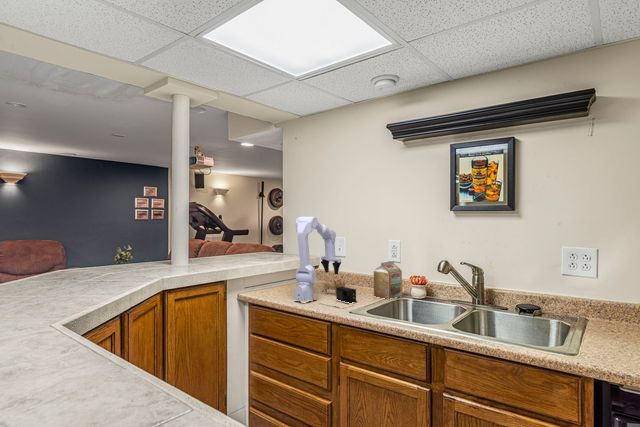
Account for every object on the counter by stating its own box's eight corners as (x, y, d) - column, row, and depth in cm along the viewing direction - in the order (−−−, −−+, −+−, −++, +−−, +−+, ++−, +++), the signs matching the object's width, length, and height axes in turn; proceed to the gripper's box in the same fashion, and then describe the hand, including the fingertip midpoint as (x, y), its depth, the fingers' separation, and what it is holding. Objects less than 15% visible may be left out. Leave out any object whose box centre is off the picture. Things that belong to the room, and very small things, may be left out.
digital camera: (334, 301, 196) (334, 287, 196) (342, 299, 199) (341, 286, 199) (348, 304, 188) (348, 290, 188) (356, 302, 191) (356, 289, 191)
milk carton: (389, 300, 195) (388, 263, 195) (374, 297, 203) (373, 261, 203) (402, 297, 202) (401, 261, 202) (386, 294, 210) (386, 260, 210)
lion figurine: (346, 294, 211) (346, 278, 211) (343, 296, 206) (343, 280, 206) (322, 292, 217) (322, 277, 217) (318, 294, 212) (318, 278, 212)
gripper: (343, 250, 217) (345, 273, 218) (325, 248, 227) (327, 270, 229) (335, 252, 212) (337, 276, 213) (317, 250, 222) (319, 272, 224)
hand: (331, 273), depth 221 cm, fingers open, 7 cm apart
